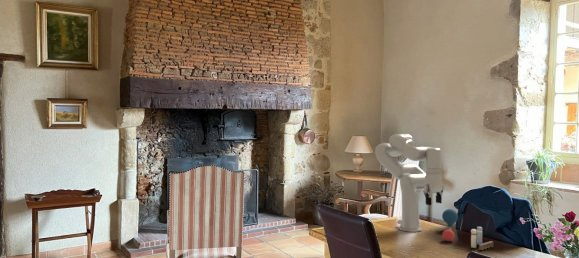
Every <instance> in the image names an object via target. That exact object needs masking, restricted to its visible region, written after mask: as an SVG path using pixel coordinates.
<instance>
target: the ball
mask: <svg viewBox="0 0 579 258" xmlns="http://www.w3.org/2000/svg"><path fill="white" fill-rule="evenodd" d="M441 235H442V238H443V240H444V241H446V242H452V241H454V239H455V236H456V234H455V231H453V229H452V230H449V229H448V228H447V229H445V230H444V231H442V234H441Z"/></svg>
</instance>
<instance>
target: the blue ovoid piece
mask: <svg viewBox="0 0 579 258" xmlns="http://www.w3.org/2000/svg"><path fill="white" fill-rule="evenodd" d="M441 216H442V220H443V222H444V223H445V224H446V225H447V229H449V230H452V231H453V229H452V228H453V225H454V224H455V223H456V222H457V221H458V218H459V216H458V213H457V211H456V210H454V209H451V208H448V209H445V210H444V211H443V213H442V214H441Z"/></svg>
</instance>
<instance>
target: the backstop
mask: <svg viewBox="0 0 579 258" xmlns="http://www.w3.org/2000/svg"><path fill="white" fill-rule="evenodd" d="M490 247H491V248H494V241H492V240H491V241H487V242H484V243H482V244H481V245H478V251H480V250H482V251H485V250H488V249H491V248H490ZM487 248H488V249H487ZM484 249H485V250H484Z"/></svg>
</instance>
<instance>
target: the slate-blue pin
mask: <svg viewBox="0 0 579 258" xmlns="http://www.w3.org/2000/svg"><path fill="white" fill-rule="evenodd" d="M481 244H483V227H482V226H476V245H478V246H479V245H481Z"/></svg>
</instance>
